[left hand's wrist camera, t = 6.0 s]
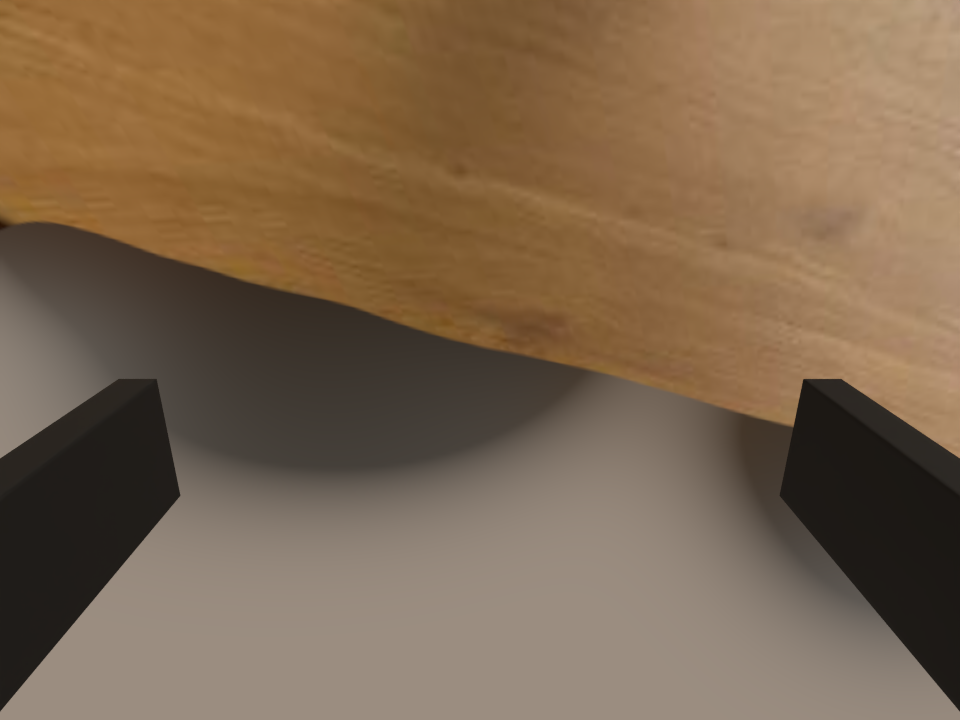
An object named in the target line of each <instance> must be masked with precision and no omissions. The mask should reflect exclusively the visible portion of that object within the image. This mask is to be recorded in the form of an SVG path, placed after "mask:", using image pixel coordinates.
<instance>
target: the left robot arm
mask: <svg viewBox="0 0 960 720" xmlns="http://www.w3.org/2000/svg"><path fill="white" fill-rule="evenodd" d="M179 497H180V492H179V487H178V482H177V477H176V472H175V467H174V462H173V457H172V453H171V448H170V443H169V438H168V433H167V428H166V423H165V418H164V413H163V409H162V404H161V399H160V394H159V389H158V384H157V379H118V380H117V381H115V382H114V383H112V384H111V385H109V386H108V387H106V388H105V389H103V390H102V391H100V392H99V393H97V394H96V395H94V396H93V397H91V398H90V399H88V400H87V401H85V402H84V403H82V404H81V405H79V406H78V407H76V408H75V409H73V410H72V411H70V412H69V413H67V414H66V415H65V416H63V417H61V418H60V419H59V420H57V421H56V422H54V423H53V424H51V425H50V426H48V427H47V428H45V429H44V430H42V431H41V432H39V433H38V434H36V435H35V436H33V437H32V438H30V439H29V440H27V441H26V442H24V443H23V444H21V445H20V446H18V447H17V448H15V449H14V450H12V451H11V452H9V453H8V454H6V455H5V456H3V457H2V458H0V711H1V710H2V709H3V707H4V706H5V705H6V704H7V703H8V701H9V700H10V699H11V698H12V697H13V695H14V694H15V693H16V692H17V691H18V689H19V688H20V687H21V686H22V685H23V683H24V682H25V681H26V680H27V679H28V677H29V676H30V675H31V674H32V673H33V671H34V670H35V669H36V668H37V667H38V665H39V664H40V663H41V662H42V661H43V659H44V658H45V657H46V656H47V655H48V653H49V652H50V651H51V650H52V649H53V647H54V646H55V645H56V644H57V643H58V641H59V640H60V639H61V638H62V637H63V635H64V634H65V633H66V632H67V631H68V629H69V628H70V627H71V626H72V625H73V624H74V622H75V621H76V620H77V619H78V617H79V616H80V615H81V614H82V613H83V612H84V610H85V609H86V608H87V607H88V606H89V604H90V603H91V602H92V601H93V600H94V598H95V597H96V596H97V595H98V594H99V592H100V591H101V590H102V589H103V588H104V586H105V585H106V584H107V583H108V582H109V580H110V579H111V578H112V577H113V576H114V574H115V573H116V572H117V571H118V570H119V568H120V567H121V566H122V565H123V564H124V562H125V561H126V560H127V559H128V558H129V556H130V555H131V554H132V553H133V552H134V550H135V549H136V548H137V547H138V546H139V544H140V543H141V542H142V541H143V540H144V538H145V537H146V536H147V535H148V534H149V533H150V531H151V530H152V529H153V528H154V526H155V525H156V524H157V523H158V522H159V521H160V519H161V518H162V517H163V516H164V515H165V513H166V512H167V511H168V510H169V508H170V507H171V506H172V505H173V504H174V503H175V501H176V500H177V499H178V498H179ZM780 497H781V498H782V499H783V500H784V501H785V503H786V504H787V505H788V506H789V507H790V509H791V510H792V511H793V512H794V513H795V515H796V516H797V517H798V518H799V519H800V521H801V522H802V523H803V524H804V525H805V526H806V528H807V529H808V530H809V531H810V533H811V534H812V535H813V536H814V537H815V539H816V540H817V541H818V542H819V543H820V544H821V546H822V547H823V548H824V549H825V550H826V552H827V553H828V554H829V555H830V556H831V558H832V559H833V560H834V561H835V562H836V564H837V565H838V566H839V567H840V568H841V570H842V571H843V572H844V573H845V574H846V576H847V577H848V578H849V579H850V580H851V582H852V583H853V584H854V585H855V586H856V588H857V589H858V590H859V591H860V592H861V594H862V595H863V596H864V597H865V598H866V600H867V601H868V602H869V603H870V604H871V606H872V607H873V608H874V609H875V610H876V612H877V613H878V614H879V615H880V616H881V618H882V619H883V620H884V621H885V622H886V624H887V625H888V626H889V627H890V628H891V630H892V631H893V632H894V633H895V634H896V636H897V637H898V638H899V639H900V640H901V641H902V643H903V644H904V645H905V646H906V647H907V649H908V650H909V651H910V652H911V653H912V655H913V656H914V657H915V658H916V659H917V661H918V662H919V663H920V664H921V665H922V667H923V668H924V669H925V670H926V671H927V673H928V674H929V675H930V676H931V677H932V679H933V680H934V681H935V682H936V683H937V685H938V686H939V687H940V688H941V689H942V691H943V692H944V693H945V694H946V695H947V697H948V698H949V699H950V700H951V701H952V703H953V704H954V705H955V706H956V707H957V709H958V710H959V711H960V458H958V457H957V456H955V455H954V454H952V453H951V452H949V451H948V450H946V449H945V448H943V447H942V446H940V445H939V444H937V443H936V442H934V441H933V440H931V439H930V438H928V437H927V436H925V435H924V434H922V433H921V432H919V431H918V430H916V429H915V428H913V427H912V426H910V425H909V424H907V423H906V422H904V421H903V420H901V419H900V418H899V417H897V416H896V415H894V414H893V413H891V412H890V411H888V410H887V409H885V408H884V407H882V406H881V405H879V404H878V403H876V402H875V401H873V400H872V399H870V398H869V397H867V396H866V395H864V394H863V393H861V392H860V391H858V390H857V389H855V388H854V387H852V386H851V385H849V384H848V383H846V382H845V381H843V380H842V379H803V384H802V389H801V394H800V399H799V403H798V408H797V413H796V418H795V423H794V428H793V433H792V438H791V443H790V448H789V453H788V457H787V462H786V467H785V472H784V477H783V482H782V487H781V492H780Z"/></svg>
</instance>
